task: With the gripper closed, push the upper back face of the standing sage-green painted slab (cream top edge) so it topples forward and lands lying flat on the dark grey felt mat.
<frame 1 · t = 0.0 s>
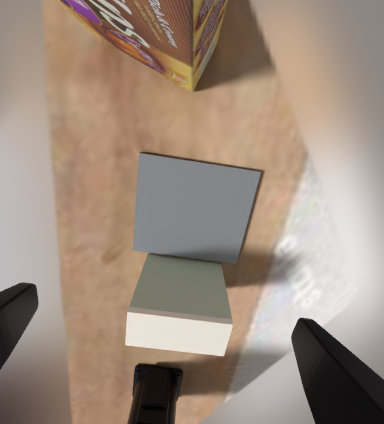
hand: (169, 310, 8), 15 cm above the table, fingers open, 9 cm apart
candy box: (155, 36, 17), on the table
slab: (182, 271, 25), on the table
mat: (192, 212, 22), on the table
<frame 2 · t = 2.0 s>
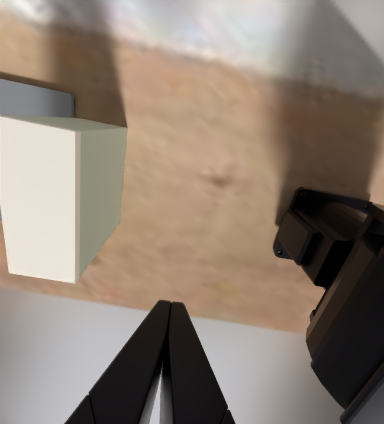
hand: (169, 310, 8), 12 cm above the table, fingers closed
slab: (101, 175, 18), on the table
mat: (9, 157, 18), on the table
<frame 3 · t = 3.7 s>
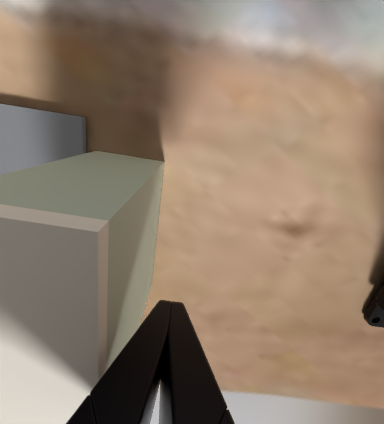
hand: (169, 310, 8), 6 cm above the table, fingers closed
slab: (126, 226, 13), on the table, touching gripper
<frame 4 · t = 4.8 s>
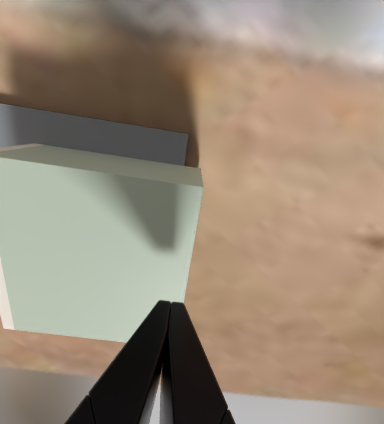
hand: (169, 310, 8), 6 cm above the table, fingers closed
slab: (188, 256, 11), point 2 cm above the table, tilted 90°, touching mat
mat: (86, 221, 13), on the table
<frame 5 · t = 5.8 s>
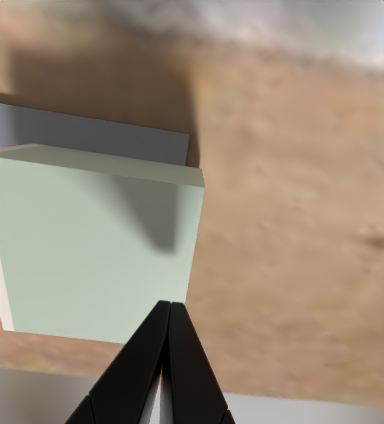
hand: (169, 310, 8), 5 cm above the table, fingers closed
slab: (189, 257, 11), point 2 cm above the table, tilted 90°, touching mat
mat: (86, 222, 12), on the table
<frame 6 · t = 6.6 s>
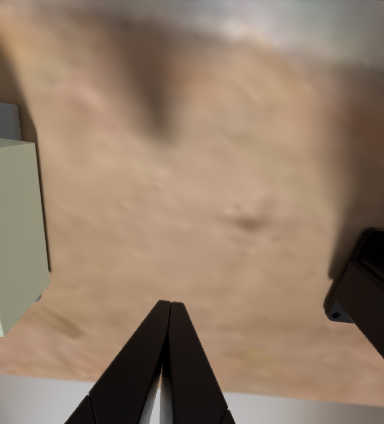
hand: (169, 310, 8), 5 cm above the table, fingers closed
slab: (19, 238, 10), point 2 cm above the table, tilted 90°, touching mat
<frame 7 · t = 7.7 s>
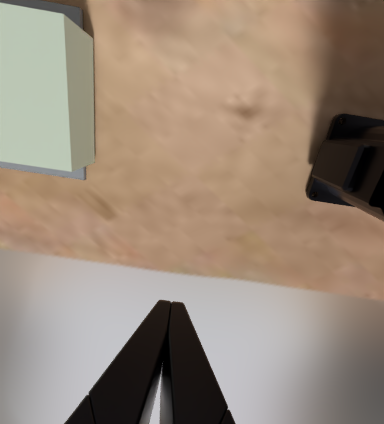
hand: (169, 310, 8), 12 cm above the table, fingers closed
slab: (82, 104, 14), point 2 cm above the table, tilted 90°, touching mat
mat: (13, 93, 16), on the table
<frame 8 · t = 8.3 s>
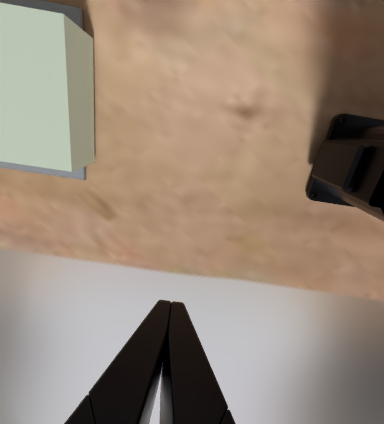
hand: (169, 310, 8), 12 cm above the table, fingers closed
slab: (82, 104, 14), point 2 cm above the table, tilted 90°, touching mat
mat: (13, 93, 16), on the table
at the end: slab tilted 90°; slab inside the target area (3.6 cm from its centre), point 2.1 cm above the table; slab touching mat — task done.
